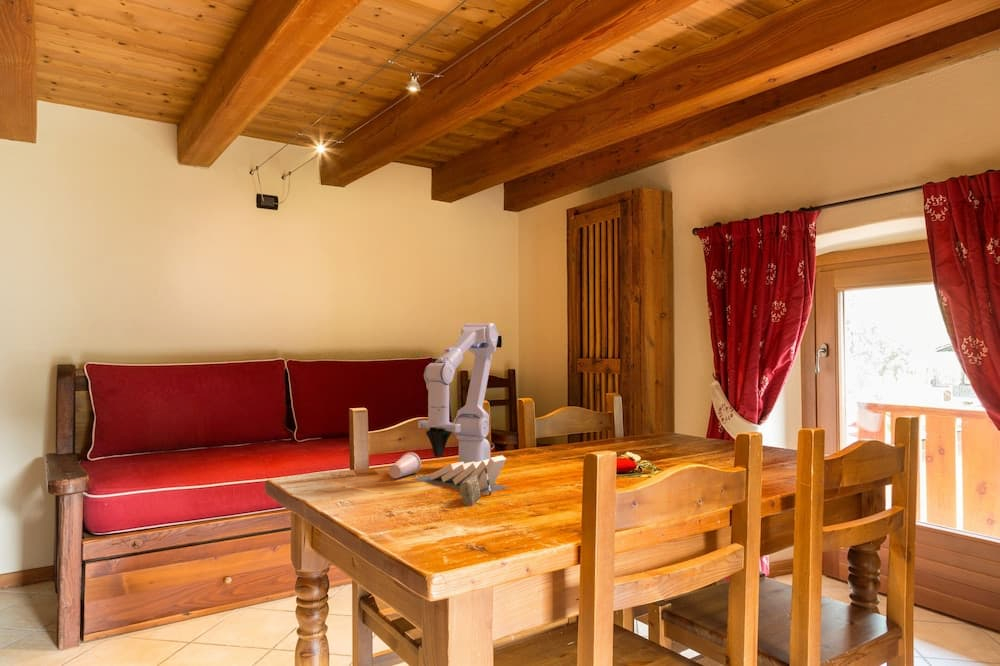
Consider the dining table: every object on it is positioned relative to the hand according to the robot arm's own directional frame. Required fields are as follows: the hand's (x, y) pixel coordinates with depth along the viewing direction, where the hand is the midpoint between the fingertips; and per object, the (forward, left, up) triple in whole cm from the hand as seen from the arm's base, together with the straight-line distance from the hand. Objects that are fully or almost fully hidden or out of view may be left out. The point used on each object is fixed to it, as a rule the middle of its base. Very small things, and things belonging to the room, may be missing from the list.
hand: (438, 456), depth 174 cm
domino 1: (0, -1, -6) cm, 6 cm away
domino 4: (0, +12, -6) cm, 14 cm away
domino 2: (0, +4, -6) cm, 7 cm away
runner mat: (0, +7, -7) cm, 10 cm away
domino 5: (0, +17, -6) cm, 18 cm away
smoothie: (+9, -8, -4) cm, 13 cm away
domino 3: (0, +8, -6) cm, 10 cm away
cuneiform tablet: (+10, +23, -7) cm, 26 cm away
